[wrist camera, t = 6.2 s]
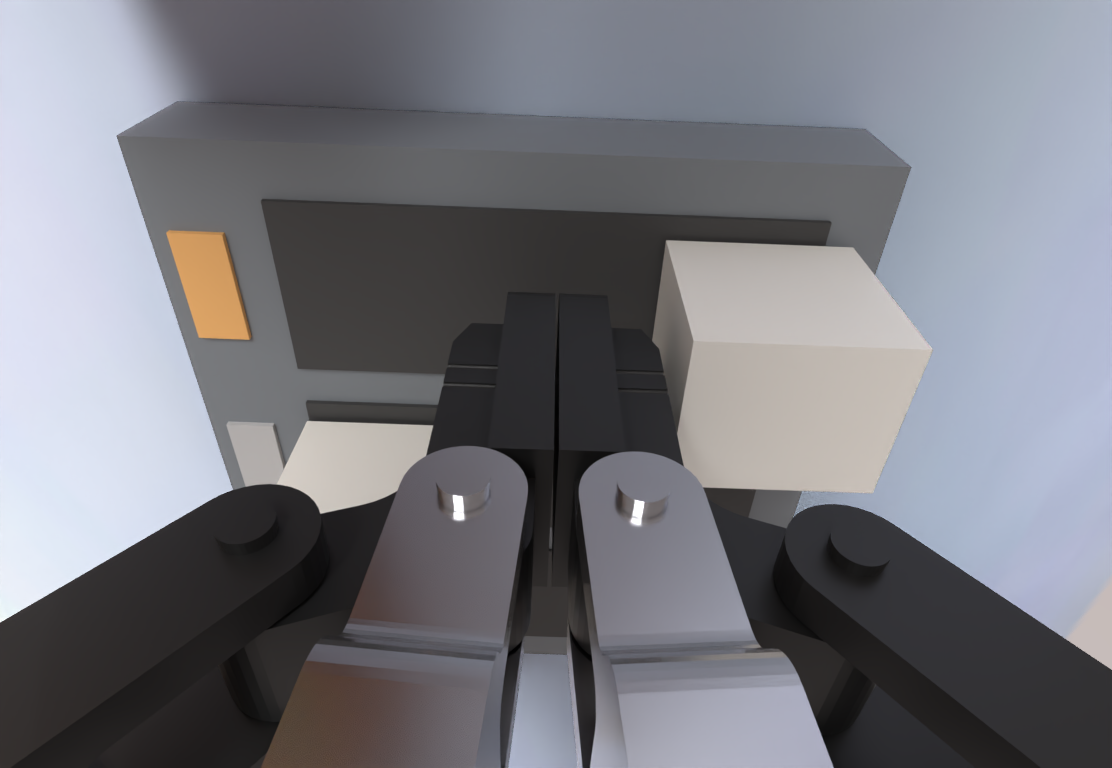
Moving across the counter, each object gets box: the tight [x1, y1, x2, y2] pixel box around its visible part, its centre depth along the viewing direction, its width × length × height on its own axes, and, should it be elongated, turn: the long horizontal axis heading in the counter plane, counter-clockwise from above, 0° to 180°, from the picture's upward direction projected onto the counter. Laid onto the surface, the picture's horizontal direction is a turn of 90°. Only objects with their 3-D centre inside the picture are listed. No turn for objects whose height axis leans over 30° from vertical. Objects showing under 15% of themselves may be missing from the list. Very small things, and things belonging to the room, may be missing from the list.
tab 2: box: [652, 240, 933, 493], centre depth 11 cm, size 2×3×3 cm
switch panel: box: [117, 101, 911, 655], centre depth 15 cm, size 13×12×2 cm
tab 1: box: [277, 421, 433, 514], centre depth 13 cm, size 2×3×3 cm
